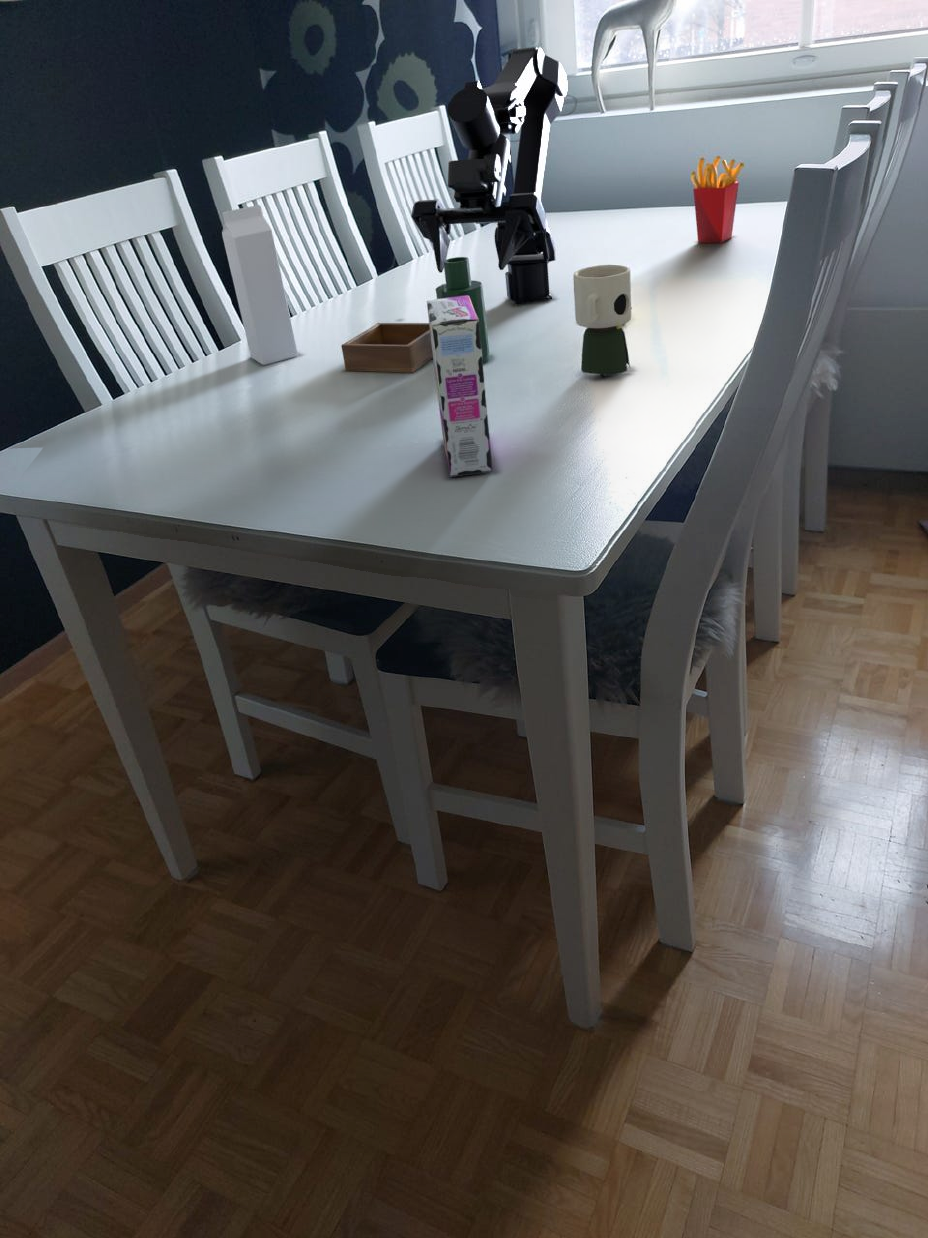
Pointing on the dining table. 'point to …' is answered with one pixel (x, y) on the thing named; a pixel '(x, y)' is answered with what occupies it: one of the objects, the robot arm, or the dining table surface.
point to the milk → (258, 285)
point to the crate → (389, 348)
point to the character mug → (603, 317)
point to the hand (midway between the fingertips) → (469, 269)
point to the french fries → (715, 200)
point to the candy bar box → (460, 384)
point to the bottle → (465, 294)
